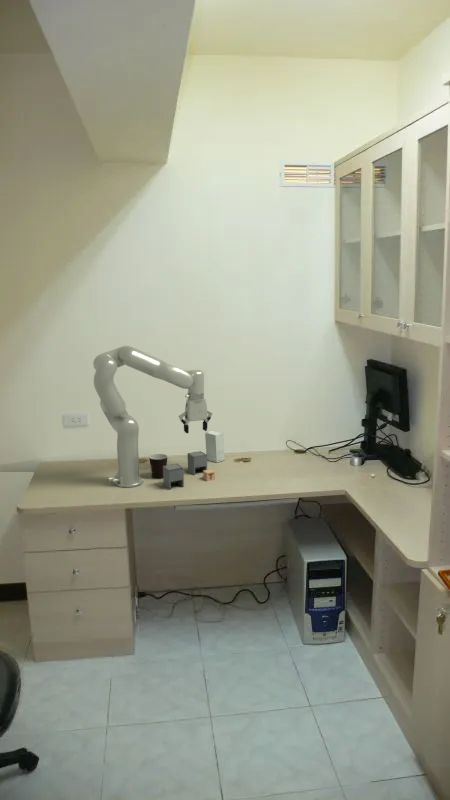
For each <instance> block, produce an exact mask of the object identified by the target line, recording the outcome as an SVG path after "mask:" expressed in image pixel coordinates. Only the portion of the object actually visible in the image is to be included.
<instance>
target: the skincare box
mask: <svg viewBox="0 0 450 800" xmlns="http://www.w3.org/2000/svg"><path fill="white" fill-rule="evenodd" d="M204 437H205V454H206V455H207V461H210V462H213V463H220V462H224V461H225V459H226V458H225V457H226V456H225V442H224V440H225V439H224V432H220V431H216V430H210V431H205V432H204Z"/></svg>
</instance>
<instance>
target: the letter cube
mask: <svg viewBox="0 0 450 800" xmlns="http://www.w3.org/2000/svg"><path fill="white" fill-rule="evenodd" d="M215 477H216V472H215V470H213V469H211V468H209V469H207V470H204V471H202V478H203V480H204V481H206V482H209V481H211V482H212V481H214V480H215V479H216V478H215Z"/></svg>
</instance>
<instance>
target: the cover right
mask: <svg viewBox="0 0 450 800" xmlns="http://www.w3.org/2000/svg"><path fill="white" fill-rule="evenodd" d="M197 470H201V471H202V472H203V471H204V470H208V460H207V455H206V452H205V453H204V452H203V451H200V450H199V451H193V452H187V472H189V473H190V474H191V475H193V476H195V475H196V471H197Z"/></svg>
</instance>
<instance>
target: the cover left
mask: <svg viewBox="0 0 450 800" xmlns="http://www.w3.org/2000/svg"><path fill="white" fill-rule="evenodd" d="M184 471H185V469H184V467H183V466H181V465H180V464H178V463H173V464H167V465H166V466H163V479H162V481H163V486H164V487H165V488H167V489H168V490H170V491H171V490H172V485H174V484H177V485H179V486H181V487H182V488H184V487H185V481H184V480H185V475H184Z"/></svg>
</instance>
